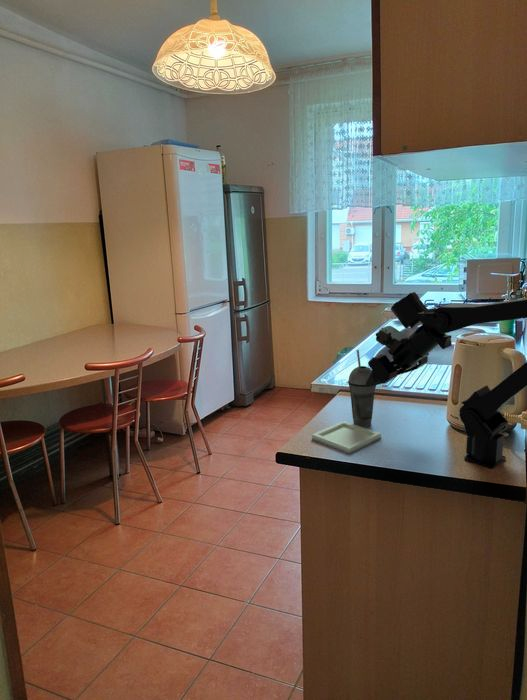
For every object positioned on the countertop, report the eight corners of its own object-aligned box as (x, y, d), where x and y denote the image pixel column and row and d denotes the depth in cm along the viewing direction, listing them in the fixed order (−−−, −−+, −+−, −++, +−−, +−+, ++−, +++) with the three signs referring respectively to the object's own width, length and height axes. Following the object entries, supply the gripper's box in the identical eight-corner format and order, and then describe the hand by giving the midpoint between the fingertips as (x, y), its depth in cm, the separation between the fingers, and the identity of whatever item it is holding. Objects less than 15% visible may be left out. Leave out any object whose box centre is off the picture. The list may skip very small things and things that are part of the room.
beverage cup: (376, 430, 133) (377, 353, 128) (347, 428, 135) (347, 353, 130) (376, 419, 140) (377, 346, 135) (348, 418, 141) (348, 346, 137)
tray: (380, 438, 128) (380, 433, 128) (349, 453, 121) (349, 448, 120) (343, 425, 137) (343, 420, 137) (312, 439, 129) (311, 434, 129)
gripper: (418, 310, 130) (378, 347, 140) (375, 323, 117) (336, 363, 127) (446, 346, 126) (404, 381, 136) (406, 363, 113) (363, 401, 124)
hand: (377, 380), depth 131 cm, fingers open, 9 cm apart
